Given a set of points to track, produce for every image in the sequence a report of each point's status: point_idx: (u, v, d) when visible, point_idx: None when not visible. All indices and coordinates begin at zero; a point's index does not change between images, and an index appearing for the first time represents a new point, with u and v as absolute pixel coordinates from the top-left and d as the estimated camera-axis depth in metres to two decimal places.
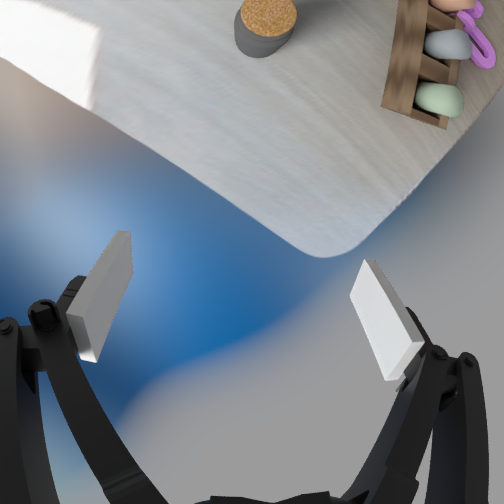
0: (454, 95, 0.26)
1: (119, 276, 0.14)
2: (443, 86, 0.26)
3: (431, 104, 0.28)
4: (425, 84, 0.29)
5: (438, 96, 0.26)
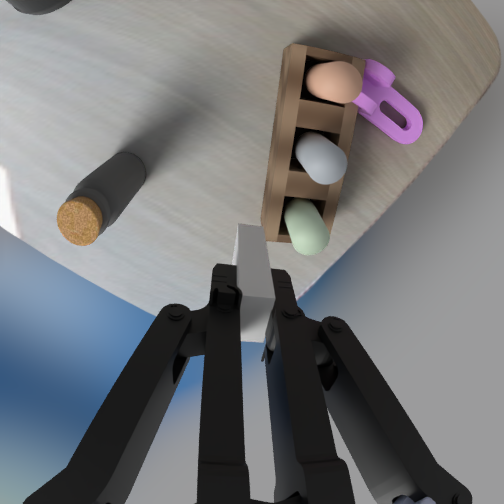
0: (313, 232, 0.31)
1: None
2: (299, 223, 0.31)
3: None
4: (292, 208, 0.34)
5: (291, 237, 0.31)
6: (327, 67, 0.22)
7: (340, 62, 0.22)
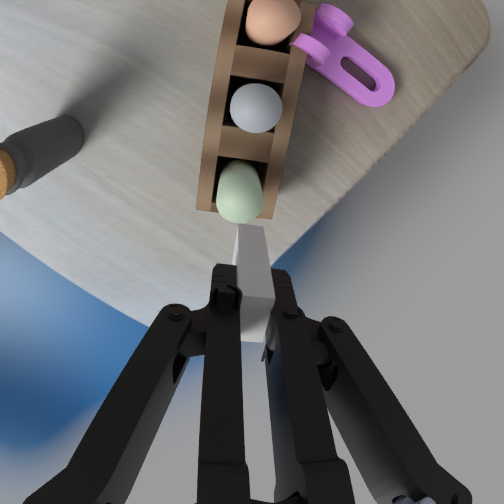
0: (242, 193, 0.25)
1: None
2: (225, 183, 0.25)
3: None
4: (226, 170, 0.28)
5: (216, 200, 0.26)
6: None
7: None
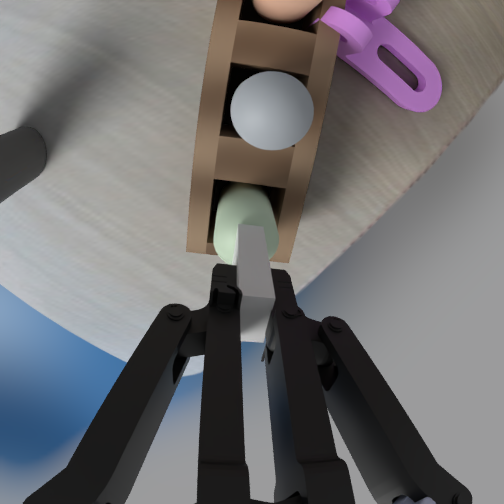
0: None
1: None
2: (225, 215, 0.18)
3: None
4: (226, 192, 0.22)
5: None
6: None
7: None
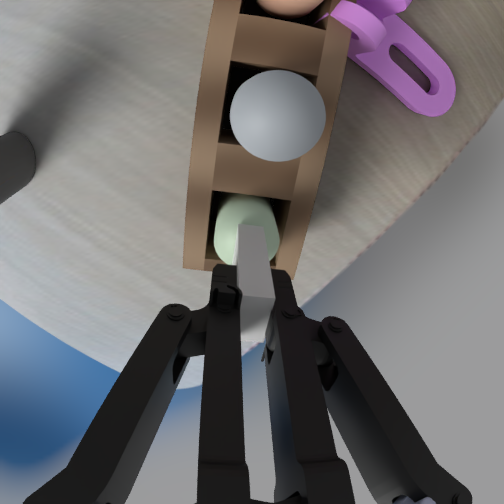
0: None
1: None
2: (225, 216, 0.18)
3: None
4: (227, 193, 0.22)
5: (214, 239, 0.19)
6: None
7: None
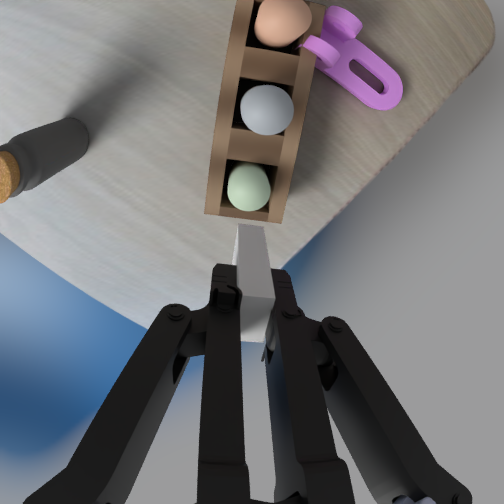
0: (251, 183, 0.28)
1: None
2: (235, 174, 0.28)
3: None
4: (235, 164, 0.31)
5: None
6: None
7: None
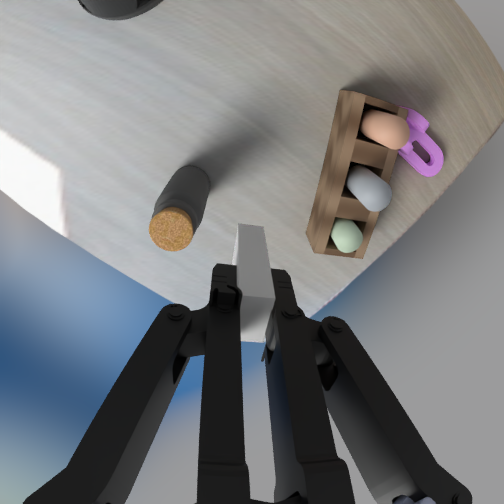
0: (351, 235, 0.40)
1: None
2: (341, 228, 0.40)
3: (333, 239, 0.43)
4: None
5: (335, 238, 0.41)
6: (386, 120, 0.29)
7: (396, 116, 0.29)
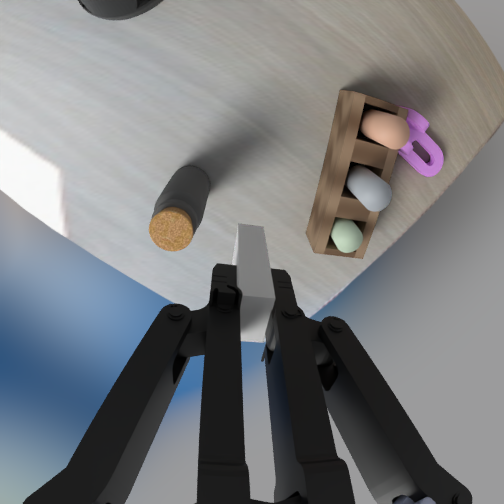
0: (351, 235, 0.40)
1: None
2: (342, 228, 0.40)
3: (333, 239, 0.43)
4: None
5: (335, 238, 0.41)
6: (386, 120, 0.29)
7: (396, 116, 0.29)
